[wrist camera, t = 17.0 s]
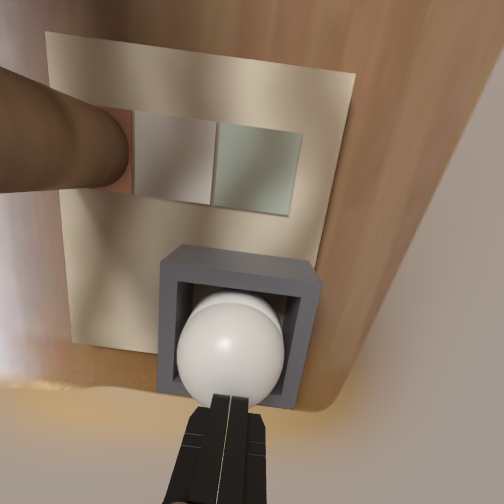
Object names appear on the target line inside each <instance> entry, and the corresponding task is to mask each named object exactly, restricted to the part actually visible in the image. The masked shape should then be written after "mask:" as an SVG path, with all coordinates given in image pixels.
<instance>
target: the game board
mask: <svg viewBox="0 0 504 504" xmlns="http://www.w3.org/2000/svg"><path fill="white" fill-rule="evenodd" d="M45 38H46V49H47V61H48V72H49V83H50V88H53V89H55V90H57V91H60V92H62V93H65V94H67V95H69V96H72V97H74V98H76V99H79V100H81V101H84V102H86V103H88V104H91V105H93V106H96V107H98V108H100V109H102V110H104V111H105V112H107V113H108V114H110V115H111V116H112V117H113V118H114V119H115V120H116V121H117V122H118V124H119V125H120V126H121V128H122V130H123V132H124V134H125V136H126V139H127V142H128V147H129V160H128V165H127V168H126V170H125V172H124V174H123V175H122V177H121V178H120V179H119V180H118V181H116V182H115V183H113V184H111V185H109V186H105V187H95V188H79V189H63V190H59V196H60V208H61V219H62V230H63V242H64V253H65V264H66V276H67V287H68V298H69V309H70V321H71V332H72V343H78V344H86V345H94V346H101V347H109V348H117V349H124V350H132V351H139V352H147V353H155V354H158V323H159V284H160V261H162V260H163V259H164V258H165V257H167V256H168V255H169V254H170V253H172V252H173V251H174V250H175V249H177V248H178V247H179V246H180V245H182V244H187V245H194V246H202V247H209V248H217V249H224V250H232V251H239V252H247V253H254V254H262V255H269V256H277V257H284V258H292V259H299V260H307V261H309V262H310V264H311V265H312V267H313V268H315V263H316V258H317V254H318V249H319V244H320V240H321V235H322V230H323V225H324V221H325V216H326V211H327V207H328V202H329V197H330V193H331V188H332V183H333V179H334V174H335V169H336V165H337V160H338V155H339V150H340V146H341V141H342V136H343V132H344V127H345V122H346V118H347V113H348V108H349V104H350V99H351V94H352V89H353V85H354V80H355V75H356V74H352V73H345V72H338V71H331V70H323V69H316V68H309V67H302V66H294V65H287V64H280V63H273V62H265V61H258V60H251V59H243V58H236V57H229V56H222V55H214V54H207V53H200V52H193V51H185V50H178V49H171V48H164V47H156V46H149V45H142V44H134V43H127V42H120V41H113V40H105V39H98V38H91V37H84V36H76V35H69V34H62V33H55V32H47V31H45ZM222 288H227V287H220V286H212V285H204V284H197V283H194V289H193V304H192V311H193V309H194V307H195V306H196V304H197V303H198V302H199V301H200V300H201V299H202V298H203V297H204V296H206V295H207V294H209V293H211V292H213V291H215V290H218V289H222ZM254 292H256V293H258V294H260V295H262V296H263V297H264V298H266V299H267V300H268V301H269V302H270V303H271V304H272V305H273V307H274V308H275V310H276V311H277V313H278V316H279V318H280V323H281V329H282V324H283V319H284V314H285V308H286V303H287V298H288V295H280V294H272V293H265V292H257V291H254Z"/></svg>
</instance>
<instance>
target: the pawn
mask: <svg viewBox="0 0 504 504" xmlns="http://www.w3.org/2000/svg"><path fill="white" fill-rule="evenodd" d="M128 160H129V147H128V142H127V139H126V136H125V134H124V132H123V130H122V128H121V126H120V125H119V124H118V122H117V121H116V120H115V119H114V118H113V117H112V116H111V115H110V114H108V113H107V112H105V111H104V110H102V109H100V108H98V107H96V106H93V105H91V104H88V103H86V102H84V101H81V100H79V99H76V98H74V97H72V96H69V95H67V94H65V93H62V92H60V91H57V90H55V89H53V88H50V87H48V86H45V85H43V84H41V83H38V82H36V81H34V80H31V79H29V78H26V77H24V76H22V75H19V74H17V73H15V72H12V71H10V70H7V69H5V68H3V67H0V193H14V192H30V191H46V190H63V189H79V188H95V187H105V186H109V185H111V184H113V183H115V182H116V181H118V180H119V179H120V178H121V177H122V175H123V174H124V172H125V170H126V168H127V165H128Z"/></svg>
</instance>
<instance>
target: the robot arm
mask: <svg viewBox="0 0 504 504" xmlns="http://www.w3.org/2000/svg"><path fill="white" fill-rule="evenodd" d="M229 403H230V395H223V394H215V393H214V394H213V397H212V401H211V406H210V408H206V407H198V408H197V409H196V410H195V411H194V413H193V414H192V415H191V416H190V418H189V421H188V424H187V427H186V431H185V435H184V437H183V441H182V444H181V447H180V450H179V454H178V457H177V460H176V464H175V467H174V470H173V473H172V476H171V480H170V483H169V486H168V490H167V493H166V496H165V498H164V501H163V503H162V504H216V498H217V491H218V484H219V477H220V470H221V463H222V456H223V449H224V442H225V434H226V427H227V419H228V411H229ZM248 404H249V398H247V397H239V396H232V398H231V406H230V413H229V420H228V427H227V435H226V442H225V449H224V456H223V463H222V470H221V479H220V485H219V493H218V500H217V504H267V502H266V457H265V456H266V446H265V426H264V423H263V421H262V418H261V416H260V414H253V413H248Z"/></svg>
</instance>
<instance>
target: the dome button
mask: <svg viewBox="0 0 504 504" xmlns="http://www.w3.org/2000/svg"><path fill="white" fill-rule="evenodd" d="M283 362H284V342H283V335H282V329H281V323H280V318H279V316H278V313H277V311H276V310H275V308H274V307H273V305H272V304H271V303H270V302H269V301H268V300H267V299H266V298H264V297H263V296H262V295H260V294H258V293H256V292H254V291H250V290H242V289H235V288H222V289H218V290H215V291H213V292H211V293H209V294H207V295H206V296H204V297H203V298H202V299H201V300H200V301H199V302H198V303H197V304H196V306H195V307H194V309H193V311H192V313H191V315H190V317H189V318H188V320H187V322H186V324H185V326H184V328H183V330H182V333H181V335H180V338H179V342H178V347H177V366H178V371H179V375H180V378H181V380H182V382H183V384H184V386H185V388H186V390H187V391H188V392H189V394H190V395H191V396H192V397H193V398H194V399H195V400H196V401H198V402H199V403H200V404H201V405H203V406H205V407H207V408H210V406H211V401H212V397H213V394H214V393H215V394H223V395H230V403H229V411H228V413H230V406H231V398H232V396H239V397H247V398H249V404H248V409H249V408H251V407H253V406H255V405H256V404H258V403H259V402H261V401H262V400H263V399H264V398H265V397H266V396H267V395H268V394H269V393H270V392H271V391H272V389H273V388H274V386H275V385H276V383H277V381H278V379H279V377H280V374H281V371H282V368H283Z"/></svg>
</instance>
